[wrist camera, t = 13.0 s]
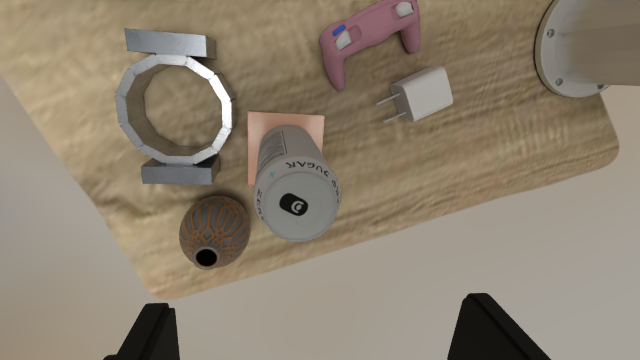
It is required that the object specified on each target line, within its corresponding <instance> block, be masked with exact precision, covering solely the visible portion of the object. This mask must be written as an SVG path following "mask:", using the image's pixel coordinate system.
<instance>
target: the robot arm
mask: <svg viewBox="0 0 640 360" xmlns="http://www.w3.org/2000/svg"><path fill="white" fill-rule="evenodd" d="M535 62H536V67H537V71H538V73H539V76H540V78H541V80H542V81H543V83H544V84H545V85H546V87H548V88H549V89H550V90H551V91H552V92H554V93H556V94H558V95H561V96H566V97H577V98H580V97H587V96H591V95H594V94H597V93H599V92H601V91H602V90H604V89H606V88H608V87H609V86H610V85H635V86H637V85H638V86H640V0H554V1H553V3H552V4H551V6H550V7H549V9H548V10H547V12H546V14H545V16H544V18H543V20H542V22H541V24H540V28H539V31H538V34H537V38H536V45H535ZM447 359H448V360H551V359H550V358H549V357H548V356H547V355H546V354H545V353H544V352H543V351H542V350H541V349H540V348H539V347H538V346H537V344H536V343H535V342H534V341H533V340H532V339H531V338H530V337H529V336H528V335H527V334H526V333H525V332H524V331H523V330H522V329H521V328H520V327H519V325H518V324H517V323H516V322H515V321H514V320H513V319H512V318H511V317H510V316H509V315H508V314H507V313H506V312H505V311H504V310H503V309H502V308H501V307H500V306H499V305H498V303H497V302H496V301H495V300H494V299H493V298H492V297H491V296H490V295H488V294H487V293H471V294H468V295H467V297H466V298H464V300H463V301H462V305H461V309H460V312H459V316H458V320H457V324H456V327H455V331H454V335H453V339H452V342H451V346H450V350H449V354H448V358H447ZM103 360H180V356H179V346H178V337H177V325H176V315H175V309H174V308H169V305H168V303H149V304H146V305H145V306H144V307H143V309H142V311H141V312H140V314H139V316H138V318H137V319H136V321H135V323H134V325H133V327H132V328H131V330H130V332H129V334H128V335H127V337H126V339H125V341H124V342H123V344H122V346H121V348H120V349H119V351H118V353H117V355H108V356H106V357H105V358H104V359H103Z"/></svg>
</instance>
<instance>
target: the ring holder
mask: <svg viewBox="0 0 640 360" xmlns="http://www.w3.org/2000/svg"><path fill="white" fill-rule="evenodd" d="M125 36H126V44H127V51H134V52H140V53H147V54H152V55H150V56H148V57H146V58H145V59H143V60H141V61H139V62H137V63H135V64H133V65H131V66H129V68H127V70H126V72H125V74H124V76H123V78H122V80H121V82H120V84H119V86H118V88H117V90H116V92H115V93H116V94H117V95H115V101H116V108H117V116H118V123H122V124H121V125H120V127H121V128H122V129H123V131H124V132H125V134H126V135H127V136H128V138H129V139H130V140H131V142H132V143H133V144H134V146H135V147H136V148H137V149H138V148H139V147H140V148H139V151H141V152H143V153H145V154H147V155H149V156H150V157H152V159H151V160H149V161H148V162H147V163H145V164H144V165H142V166H141V173H142V181H143V184H198V185H212V183H213V181H214V180H215V178H216V176H217V174H218V172H219V170H220V155H214V154H216V153H217V152H219V150H220V149H221V147H222V146H223V144H224V143H225V141H226V140H227V138H228V136H229V135H230V133H231V131H232V130H233V128H234V126H235V124H236V98H235V95H234V93H233V91H232V90H231V88H230V86H229V84H228V83H227V81H226V79H225V77H224V76H223V74H221V72H219V71H218V70H216V69H214V68H213V67H211V66H210V65H208V64H207V63H205V62H204V61H202V60H201V59H199V58H206V59H216V41H214V40H212V39H211V38H209V37H207V36H204V35H193V34H182V33H171V32H160V31H149V30H138V29H127V28H125ZM171 65H183V66H187V67H188V68H190V69H192V70H193V71H195V72H196V73H198V74H200V75H201V76H203V77H204V78H206V79H207V80H209V82H210V83H211V85H212V87H213V88H214V90H215V92H216V94H217V95H218V97H219V99H220V100H221V102H222V120H223V127H222V129H221V130H220V132H219V134H218V136H217V137H216V139H215V140H213V141H211V142H209V143H207V144H205V145H203V146H201V147H187V146H178V145H176V144H174V143H172V142H170V141H168V140H167V139H165V138H163V137H161V136H159V135H158V133H157V132H156V130H155V129H154V128H153V126H152V125H151V123H150V122H149V120H148V119H147V117H146V114H145V105H144V95H143V94H144V92H145V90H146V88H147V86H148V84H149V82H150V80H151V78H152V76H153V75H154V74H156V73H158V72H160V71H162V70H164V69H166V68H167V67H169V66H171Z"/></svg>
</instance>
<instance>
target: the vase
mask: <svg viewBox="0 0 640 360" xmlns="http://www.w3.org/2000/svg"><path fill="white" fill-rule="evenodd" d="M249 237H250V220H249V217H248V214H247V212H246V211H245V209H244V208H243V207H242V205H241V204H239V203H238V202H237V201H235V200H234V199H231V198H229V197H225V196H211V197H207V198H204V199H202V200H200V201H199V202H197V203H196V204H194V205H193V206H192V207H191V208H190V209H189V210H188V212H187V213H186V215H185V216H184V218H183V220H182V222H181V226H180V231H179V240H180V245H181V248H182V250H183V252H184V254H185V255H186V257H187V258H188V259H189V260H190V261H191V262H193V263H194V264H195V265H196V266H197V267H198V268H201V269H204V270H209V269H213V268H219V267H223V266H226V265H228V264H230V263H231V262H233V261H234V260H236V259H237V258H238V257H239V256H240V255H241V253H242V252H243V251H244V249H245V248H246V246H247V243H248V241H249Z"/></svg>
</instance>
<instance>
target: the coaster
mask: <svg viewBox="0 0 640 360" xmlns="http://www.w3.org/2000/svg"><path fill="white" fill-rule="evenodd" d="M324 119H325V116H324V115H311V114H293V113H274V112H256V111H248V185H255V179H256V171H257V163H258V155H259V148H260V144H261V142H262V139H263V138H264V137H265V135H266V134H267V133H268V132H269V131H270V130H272V129H274V128H276V127H278V126H282V125H294V126H298V127H300V128H302V129H304V130H305V131H306V132H308V134H309V135H310V136H311V137H312V139H313V140H314V142H315V144H316V145H317V147H318V148H319V150H320V151H321V153H322V146H323V132H324Z"/></svg>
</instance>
